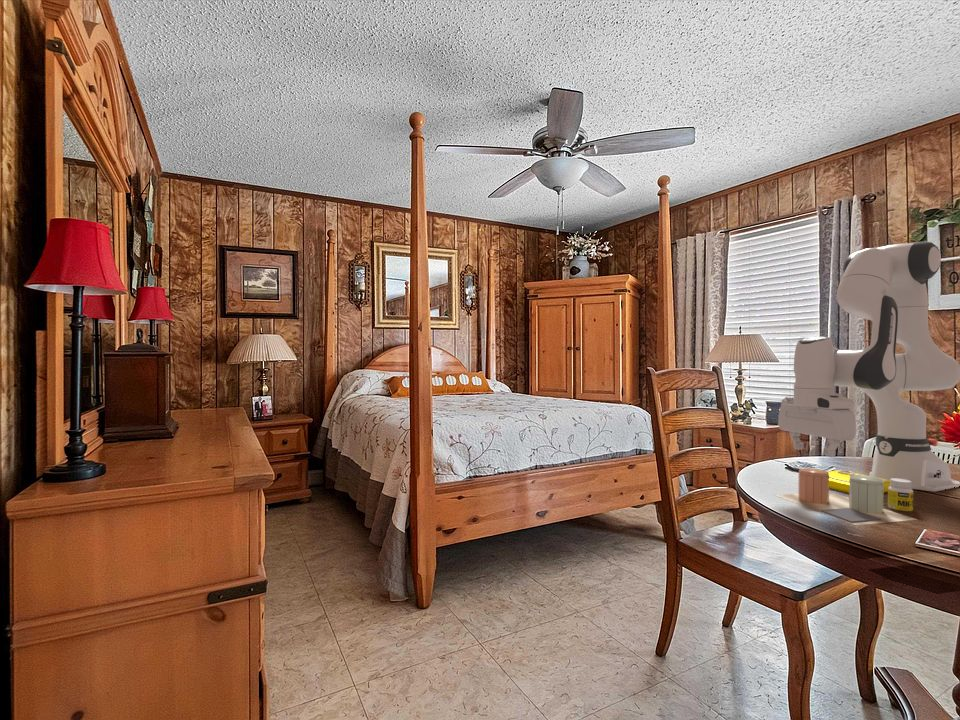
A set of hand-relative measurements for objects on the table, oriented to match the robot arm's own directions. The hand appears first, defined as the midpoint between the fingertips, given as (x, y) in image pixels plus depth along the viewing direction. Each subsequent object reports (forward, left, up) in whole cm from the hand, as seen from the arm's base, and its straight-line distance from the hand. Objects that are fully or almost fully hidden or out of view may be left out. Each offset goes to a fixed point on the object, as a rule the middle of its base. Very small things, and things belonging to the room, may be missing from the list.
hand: (813, 452), depth 127 cm
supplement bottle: (-15, +10, -14) cm, 23 cm away
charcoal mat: (+2, +12, -12) cm, 17 cm away
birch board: (-2, +6, -14) cm, 15 cm away
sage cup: (-6, +9, -12) cm, 16 cm away
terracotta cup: (0, 0, -13) cm, 12 cm away
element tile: (-21, -9, -15) cm, 27 cm away
